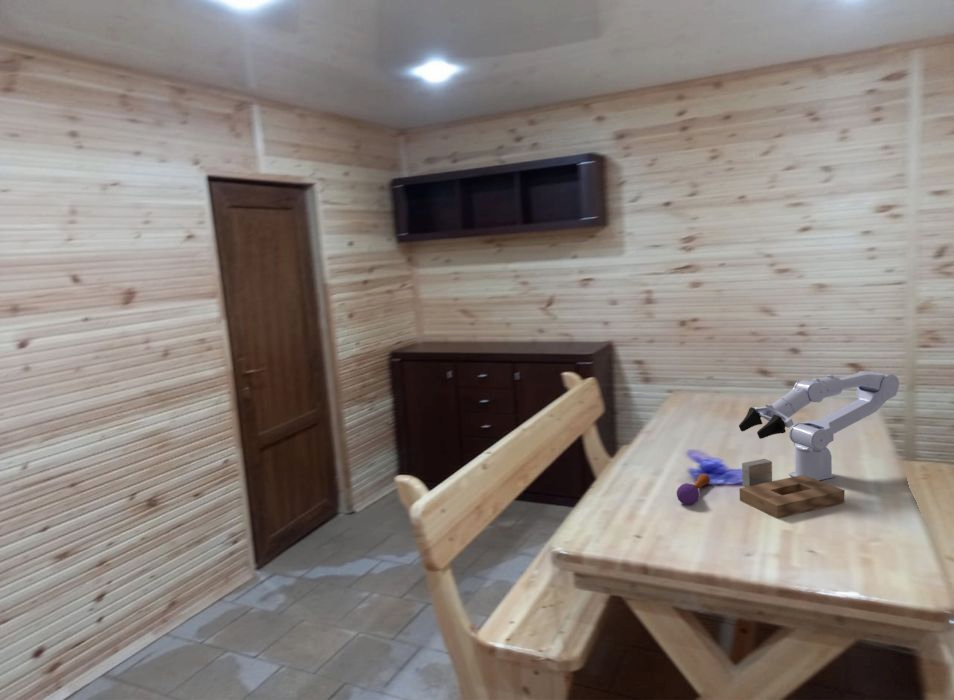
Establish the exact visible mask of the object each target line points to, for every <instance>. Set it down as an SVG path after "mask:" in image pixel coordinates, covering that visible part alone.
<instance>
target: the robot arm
mask: <svg viewBox="0 0 954 700" xmlns="http://www.w3.org/2000/svg"><path fill="white" fill-rule="evenodd" d="M899 387H900V381H899V378H898V376H896V375H895V374H893V373H892V374H891V373H890V374H888V373H882V372H877V371H871V370H868V369H867V370H860V371H858V372H856V373H852V374H849V375H846V376H842V377H838V376H836V375H833V374H826V375H825V377H821V378H819V377H814V378H813V379H812V380H806V379H805V380H803V379H802V380H798V381H796V382H795V383H794V385H793V388H792V389H791V390H789V392H787V393H786V394H784V395H783V396H781V397H780V398H779V399H777V400H776V401H774V402H773V403H771V404H770V403H766V404H765V406H761V407H760V406H755V407H749V408H748V410H747V413H746V416H745V417H744V419H743V420H742V421H741V422H740V423H739V425H738V427H739V429H740V431H741V432H742V433H743V432H745V431H747V430H749V429H751V428H753V427H756V426H759V425H763V422H762V419H761V418H763V419H764V420H766V421H768V422H767V423H765V425H763V426H762V427H761V428H759V430H757V432H756V434H757V437H758V439H760V440H761V439H765V438H768V437H770V436H774V435H779V434H785V433H786V431H787V430H786V428H788V429H789V432H788V434H789V436H788V437H789V439H790V441H792V443H793V447H795V448H794V451H795V453H794V454H795V460H794V461H795V463H794V464H795V466H794V467H795V471H793V472H789V473H788V475H789V476H791V477H795V476H800V475H805V476H808V477H811V478H813V479H816V480H819V481H823V480H827V479H831V478H834V477H835V475H833V474H832V469H833V468H832V467H833V466H832V465H833V464H832V463H833V462H832V460H833V459H832V453H831V451H830V449H829V448H828V446H829V445H830V443H832V442H834V440H835V439H834V437H835V436H834V434H836V433H839V432H840V431H842V430H844V429H846V428H848V427H849V426H852V425H853V424H855V423H857V422H859V421H861V420H863V419H865V418H866V417H869V416H870V415H873V414H874V413H876V412H878V410H879V409H881V407H882V406H883V405H884V404H886V402H887V401H888V400H890V399H892V398H895V397H896V396H897V394H898V391H899ZM853 388H856V398H857V399H856V400H854V401H853V402H851V403H848V404H847V405H844V406H842V407H841V408H839V409H837V410H835V411H833V412H831V413H830V414H827V415H825V416H823V417H821V418H820V419H816V420H815V419H813V420H806V421H804V422H796V423H794V421H793V419H792V418H791V417H792V416H793V415H794V414H797V413H798V412H799V411H801V410H802V409H804V408H805V407H806V406H808V405H809V404H811V403H821V402H822V401H823V400H824V399H825V398H830V397H832V396H837V395H840V394H841V393H842V392H843V390H846V389H847V390H848V389H853Z"/></svg>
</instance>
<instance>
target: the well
mask: <svg viewBox="0 0 954 700" xmlns="http://www.w3.org/2000/svg"><path fill="white" fill-rule="evenodd" d="M845 494H846V493H845V489H842V488H839V487H836V486H834V485H831V484H829V483H827V482H824V481H822V480H816V479H813V478H811V477H808V476H805V475H800V476H795V477H793V476H791V477H786V478H782V479H778V480H777V479H776V480H772V482H767V483H762V484H757V485H753V486H748V487H744V486H742V487H740V488H739V501H740V502H742V503H745V504H747V505H749V506H751V507H753V508H755V509H757V510H759V511H760V512H763V513H764V514H767V515H769V516H771V517H773V518H774V519H778V520H779V519H782V518H785V517H790V516H795V515H799V514H803V513H807V512H812V511H816V510H821V509H824V508H829V507H833V506H837V505H842V504H845Z"/></svg>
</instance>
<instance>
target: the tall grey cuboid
mask: <svg viewBox="0 0 954 700" xmlns="http://www.w3.org/2000/svg"><path fill="white" fill-rule="evenodd" d="M741 470H742V471H741V474H742V475H741V476H742V477H741V479H742V480H741V481H742V484H741V485H742V487H748V486H753V485H757V484H762V483H767V482H772V481H773V461H772V460H770V459H766V458H761V459H756V460H751V461H747V462H746V461H745V462H742V463H741Z"/></svg>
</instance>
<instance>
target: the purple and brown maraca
mask: <svg viewBox="0 0 954 700" xmlns="http://www.w3.org/2000/svg"><path fill="white" fill-rule="evenodd" d="M710 480H711V478H710V476H709V475H708V474H707V473H701V474H700V475H699V476H698V477H697V479H696V481H695V482H694V484H693V483H682V484H681V485H680V486H679V487H678V488H677V490H676V497H677V500H678V502H680V503H681V504H683V505H685V506H693V505H695V504H696V503H697V502H698V501H699V498H700V491H699V489H700V488H702V487H704V486H706V485H708V484H710V482H711V481H710Z"/></svg>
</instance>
